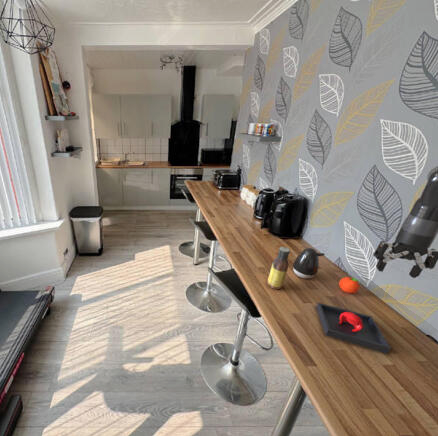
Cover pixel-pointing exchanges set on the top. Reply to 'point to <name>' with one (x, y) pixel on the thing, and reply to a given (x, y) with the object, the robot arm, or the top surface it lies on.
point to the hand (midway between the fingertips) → (395, 273)
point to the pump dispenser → (307, 263)
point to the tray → (364, 337)
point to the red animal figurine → (352, 320)
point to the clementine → (349, 285)
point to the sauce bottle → (279, 269)
